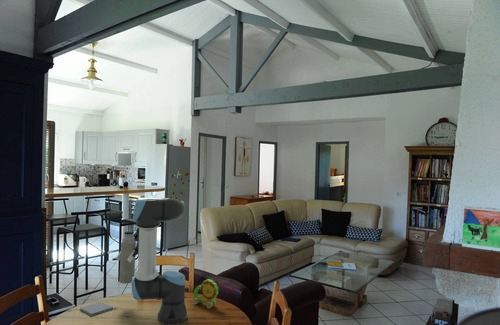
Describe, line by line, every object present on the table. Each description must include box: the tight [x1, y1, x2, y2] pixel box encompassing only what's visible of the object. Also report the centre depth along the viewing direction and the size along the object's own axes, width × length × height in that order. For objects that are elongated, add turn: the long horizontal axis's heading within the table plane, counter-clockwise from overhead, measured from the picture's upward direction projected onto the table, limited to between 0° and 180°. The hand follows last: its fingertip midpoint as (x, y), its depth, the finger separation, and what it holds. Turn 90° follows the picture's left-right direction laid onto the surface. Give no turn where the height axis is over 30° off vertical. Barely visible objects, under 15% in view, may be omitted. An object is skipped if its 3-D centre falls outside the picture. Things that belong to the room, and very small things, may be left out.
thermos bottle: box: [118, 231, 137, 285], centre depth 193 cm, size 8×8×28 cm
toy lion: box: [191, 278, 219, 310], centre depth 196 cm, size 16×5×15 cm, turn 61°
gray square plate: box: [79, 301, 114, 317], centre depth 185 cm, size 12×12×1 cm
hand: (123, 260), depth 190 cm, fingers closed on thermos bottle, 8 cm apart
